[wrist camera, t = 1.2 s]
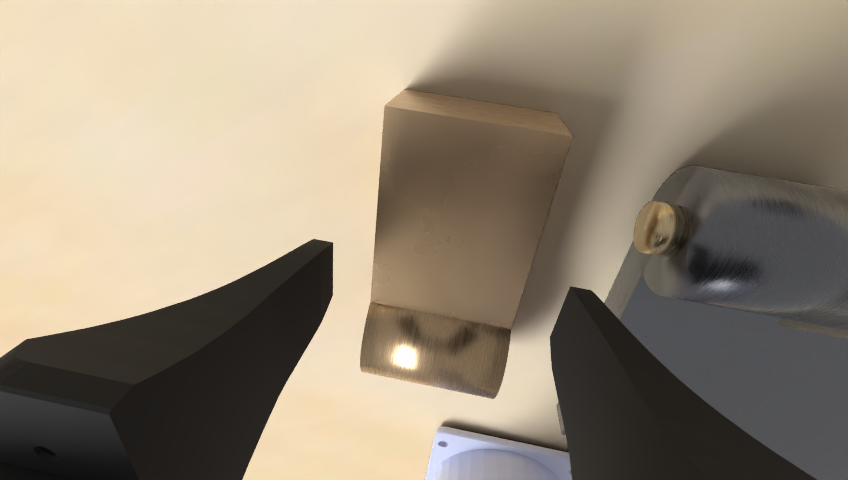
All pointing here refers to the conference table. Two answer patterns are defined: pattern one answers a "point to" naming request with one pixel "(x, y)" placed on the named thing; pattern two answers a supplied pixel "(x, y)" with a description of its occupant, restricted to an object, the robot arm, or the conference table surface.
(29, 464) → the robot arm
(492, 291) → the brown boxy piece
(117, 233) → the conference table surface
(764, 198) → the metal hinge
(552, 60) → the conference table surface
